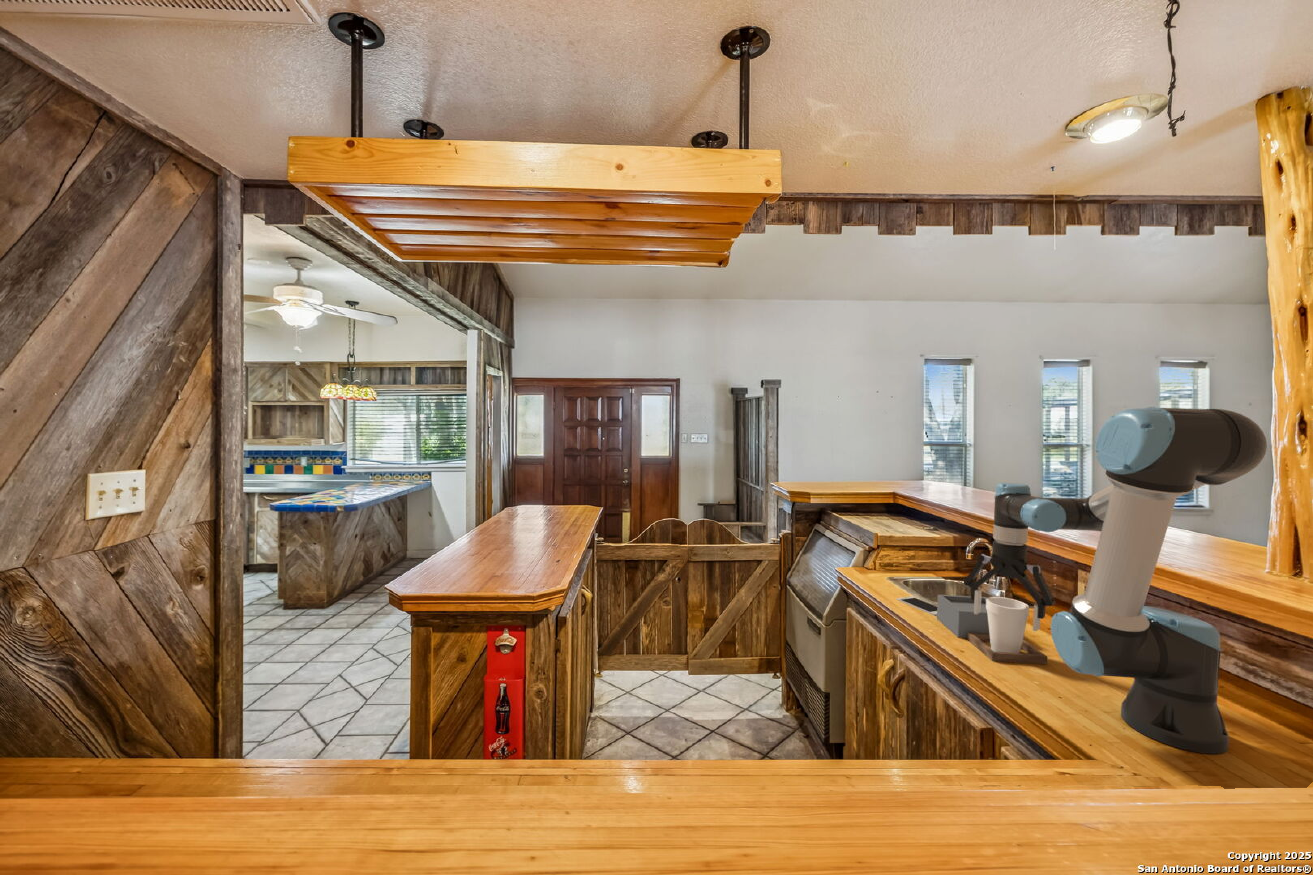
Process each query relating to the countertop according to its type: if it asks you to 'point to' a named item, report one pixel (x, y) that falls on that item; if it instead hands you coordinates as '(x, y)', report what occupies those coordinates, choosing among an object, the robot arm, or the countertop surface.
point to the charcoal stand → (962, 615)
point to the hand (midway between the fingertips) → (1005, 621)
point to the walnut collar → (1032, 656)
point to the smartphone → (919, 604)
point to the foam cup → (1006, 623)
